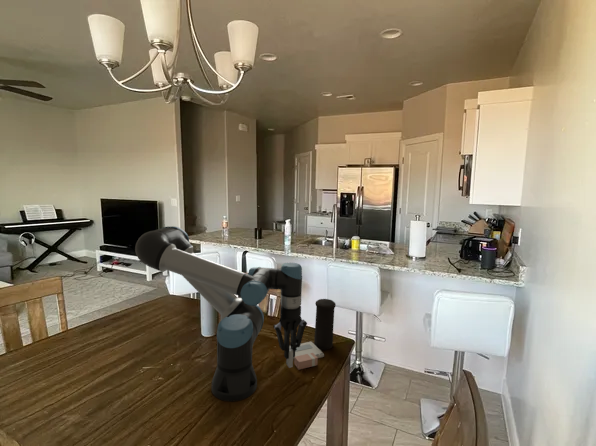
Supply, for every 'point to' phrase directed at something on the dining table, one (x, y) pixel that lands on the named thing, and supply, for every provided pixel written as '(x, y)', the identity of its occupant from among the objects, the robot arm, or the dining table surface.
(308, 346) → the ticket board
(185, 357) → the dining table surface
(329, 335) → the container
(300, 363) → the pink banded block
